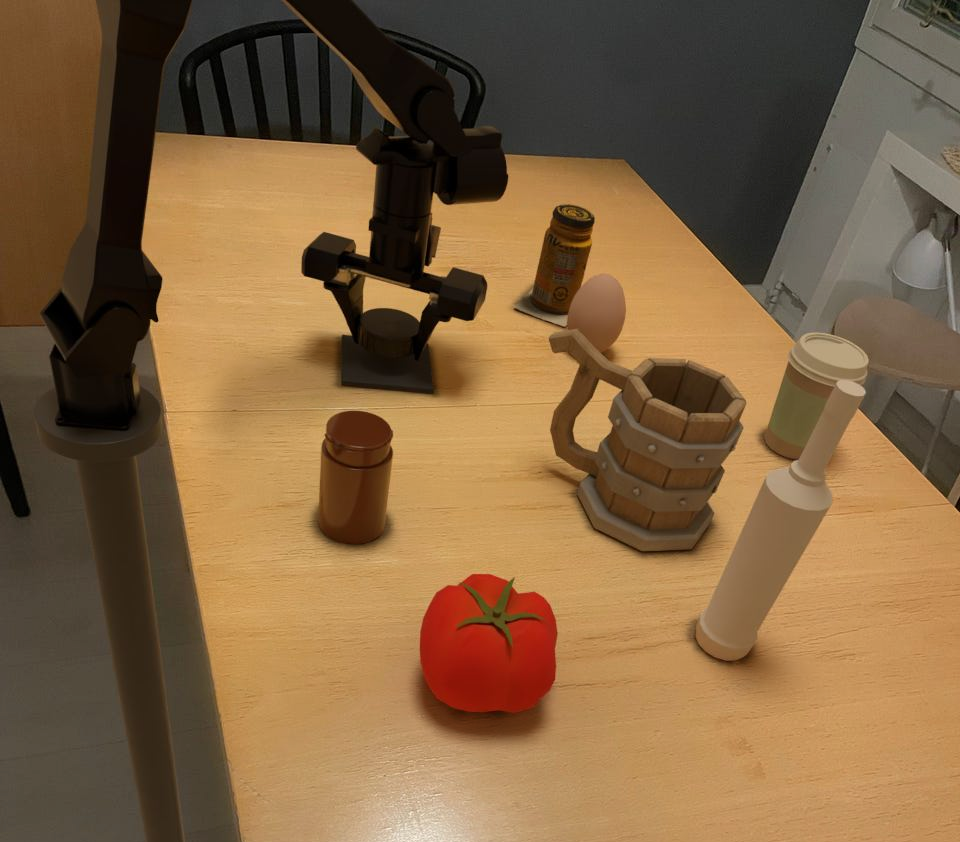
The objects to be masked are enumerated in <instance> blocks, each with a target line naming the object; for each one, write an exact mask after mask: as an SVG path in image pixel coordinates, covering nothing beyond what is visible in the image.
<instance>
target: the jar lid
mask: <svg viewBox="0 0 960 842" xmlns="http://www.w3.org/2000/svg"><path fill="white" fill-rule="evenodd" d="M419 324H420V320H419V319H418V318H417V317H416V316H414V315H412V314H410V313H408V312H406V311H404V310H400V309H395V308H389V307H377V308H370V309H368V310H366V311H363V313H362V315H361V316H360V318H359V323H358V333H357V338H358V342H359V344H360V345H361V346H362V347H363V348H364V349H365V350H367V351H368V352H370V353H372V354H375V355H378V356H382V357H386V358H404V357H408V356H411V355H413V354H414V353H415V345H416V340H417V335H418V330H419Z"/></svg>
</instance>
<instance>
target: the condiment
mask: <svg viewBox="0 0 960 842" xmlns="http://www.w3.org/2000/svg"><path fill="white" fill-rule="evenodd" d="M595 218H596V217H595V215H594V214H593V213H592V212H591V211H590V210H589V209H587V208H585V207H582V206H579V205H576V204H575V205H574V204H572V203H571V204H568V203H567V204H565V203H563V204H560V205H556V206H555V208H554V209H553V210H552V217H551V219H550V222H549V227H547V228H546V229H545V233H544V236H543V241H542V246H541V251H540V256H539V260H538V263H537V269H536V273H535V278H534V282H533V285H532V288H531V289H530V290H529V291H528V292H527V293H526V294H525V295H524V296H522V297H521V299H520V300H518V302H517V303H515V304H514V305H513V306H512V308H514V309H517V310H519V311H520V312H523V313H525V314H528V315H531V316H532V317H535V318H538V319H541V320H542V321H547V322H550V323H553V324H555V325H558V326H561V327H564V328H566V326H567V317H568V312H569V309H570V305H571V302H572V300H573V298H574V296H575V295H576V293H577V291H578V290H579V289H580V288H581V286H582V285H583V281H584V278H585V272H586V269H587V264H588V260H589V256H590V253H591V249H592V246H593V239H592V234H593V232H594V230H593V229H594V224H595V223H596V219H595Z"/></svg>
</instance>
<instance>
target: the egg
mask: <svg viewBox="0 0 960 842" xmlns="http://www.w3.org/2000/svg"><path fill="white" fill-rule="evenodd" d="M626 304H627V303H626V296H625V293H624V289H623V287H622V284H621V283H620V282H619V280H618V279H617V278H616V277H614V276H613V275H612V274H610V273H598V274H595V275H592V276H591V277H590V278H588V279H587V280H586V281H585V282H584V283H582V285H581V288H580V289H579V290H578V291H577V293H576V295H575V296H574V298H573V300H572V302H571V305H570V309H569V312H568V317H567V325H566V326H567V327H566V328H567V330H573V329H578V330H579V331H580V332H581V333H582V334H583V335H584V336H585V337H586V339H587V340H588V341H589V342H590V343H591V344H592V345H593V346H594V347H595V348H596V349H597V350H598V351H599V352H600V353H602V352H603V353H604V352H605V351H607V350H608V349H609V348H611V346H613V345H614V344H615V343H616V341H617V340H618V338H619V337H620V335H621V333H622V331H623V327H624V324H625V321H626V313H627V306H626Z"/></svg>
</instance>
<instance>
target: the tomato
mask: <svg viewBox="0 0 960 842" xmlns="http://www.w3.org/2000/svg"><path fill="white" fill-rule="evenodd" d="M514 582H515V576H514V577H512V578H511V579H510V580H507V579H505V578H502V577H499V576H497V575H494V574H491V573H472V574H470V575H468V576H467V577H466V578H465V579H463V580H462V581H461V582H460V581H458V584H457V585H453V584H447V585H446V586H444V587H442V588H441V589H439V590H437V591H436V592H435V593H434V595H433V597H432V599H431V601H430V602H429V604H428V607H427V609H426V611H425V612H424V615H423V617H422V622H421V626H420V632H419V660H420V666H421V670H422V674H423V678H424V680H425V682H426V684H427V686H428V688H429V689H430V691H431V692H432V694H433V695H434V697H435V699H436V700H439V701H441V702H442V703H444V704H446V705H447V706H449V707H451V708H452V709H455V710H460V711H465V712H468V713H488V712H494V711H502V712H507V713H518V712H519V713H520V712H522V711H526V710H529V709H532V708H533V707H534V706H535V705H536V704H537V703H538V702H539V701H541V700H542V699H543V697H545V696H546V695H547V694H548V693H549V692H550V691H551V689H552V687H553V685H554V683H555V681H556V674H557V673H556V672H557V660H556V647H557V640H558V634H559V633H558V626H557V619H556V617H555V614H554V611H553V608H552V605H551V604H550V603H549V602H548V600H547V599H546V598H545V597H544V596H543V595H541V594H539V593H538V592H536V591H528V592H519V593H518V592H517V590H516V589H515V588H514V587H513V584H514Z"/></svg>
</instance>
